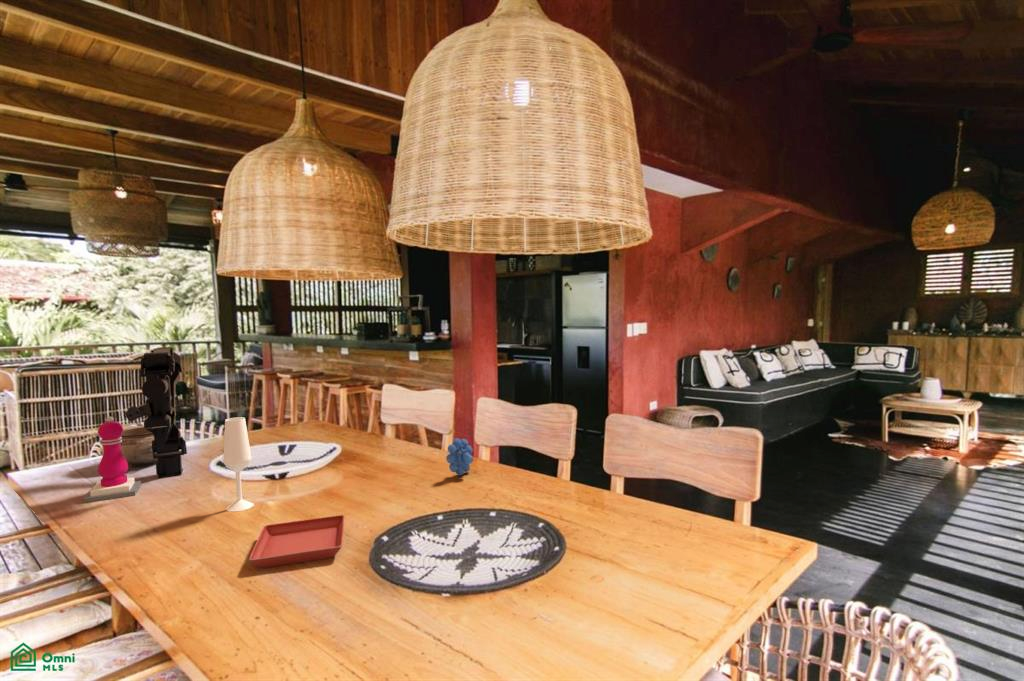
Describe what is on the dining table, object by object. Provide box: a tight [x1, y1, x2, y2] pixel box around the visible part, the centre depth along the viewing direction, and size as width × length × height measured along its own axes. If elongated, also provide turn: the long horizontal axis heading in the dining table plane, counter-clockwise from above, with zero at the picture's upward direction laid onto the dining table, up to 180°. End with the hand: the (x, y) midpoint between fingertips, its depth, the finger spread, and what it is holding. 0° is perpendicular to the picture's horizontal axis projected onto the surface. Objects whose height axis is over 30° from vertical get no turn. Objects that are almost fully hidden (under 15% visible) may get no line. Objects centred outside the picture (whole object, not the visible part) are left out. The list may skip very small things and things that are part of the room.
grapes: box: [445, 437, 474, 476], centre depth 164 cm, size 12×7×12 cm, turn 145°
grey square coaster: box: [82, 477, 142, 504], centre depth 155 cm, size 12×11×3 cm
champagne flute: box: [222, 416, 254, 512], centre depth 142 cm, size 7×7×24 cm
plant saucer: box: [248, 514, 346, 568], centre depth 117 cm, size 18×18×3 cm
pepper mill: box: [97, 416, 129, 487], centre depth 155 cm, size 7×7×20 cm
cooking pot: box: [120, 424, 158, 467], centre depth 186 cm, size 25×19×12 cm
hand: (162, 445), depth 159 cm, fingers open, 9 cm apart
